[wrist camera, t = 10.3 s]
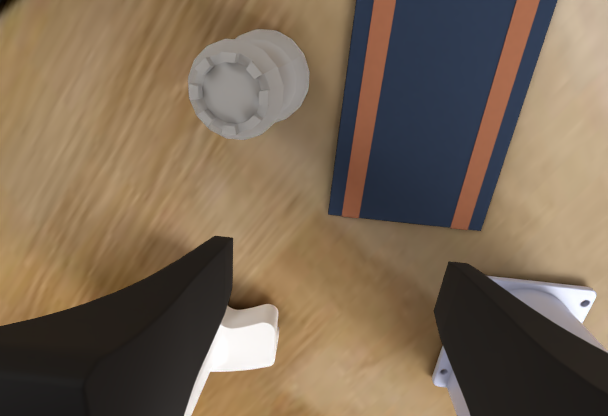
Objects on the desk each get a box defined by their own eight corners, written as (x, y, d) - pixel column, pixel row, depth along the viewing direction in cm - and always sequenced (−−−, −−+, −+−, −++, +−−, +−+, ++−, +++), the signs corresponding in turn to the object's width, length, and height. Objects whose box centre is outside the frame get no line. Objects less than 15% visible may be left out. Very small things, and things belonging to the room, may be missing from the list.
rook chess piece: (281, 10, 17) (249, -20, 10) (325, 94, 19) (325, 123, 11) (207, 59, 18) (128, 65, 11) (254, 135, 20) (212, 186, 12)
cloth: (479, 228, 21) (481, 231, 21) (328, 212, 21) (328, 214, 21) (581, -85, 15) (587, -88, 15) (370, -106, 15) (370, -108, 15)
